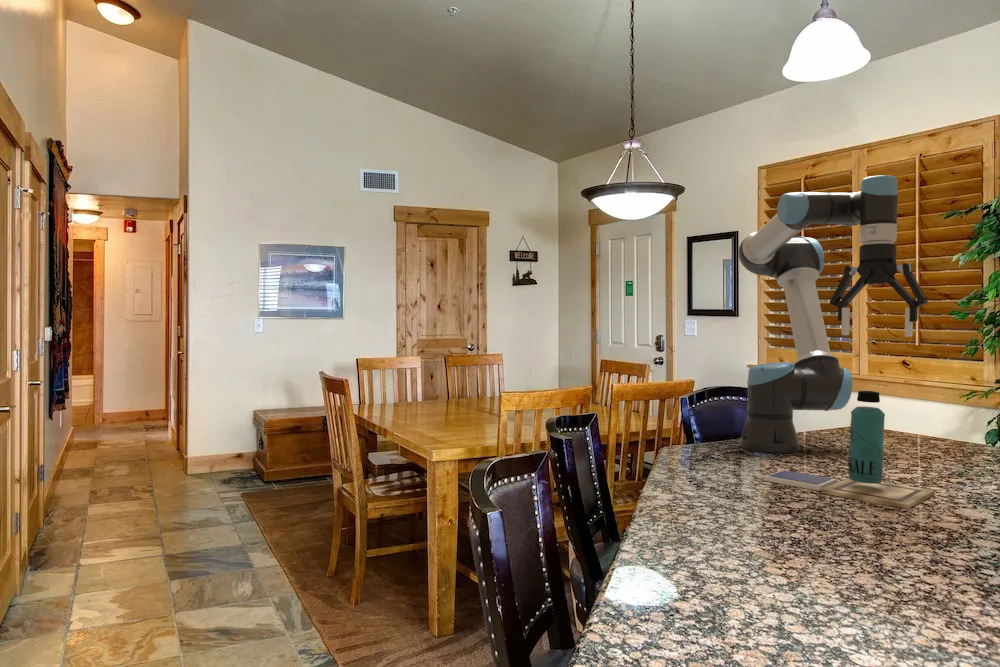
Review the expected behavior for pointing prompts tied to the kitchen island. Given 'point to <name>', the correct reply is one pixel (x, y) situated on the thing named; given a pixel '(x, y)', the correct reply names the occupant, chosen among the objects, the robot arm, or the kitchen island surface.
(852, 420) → the beverage bottle
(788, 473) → the ink pad
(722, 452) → the kitchen island surface
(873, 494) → the mark board
